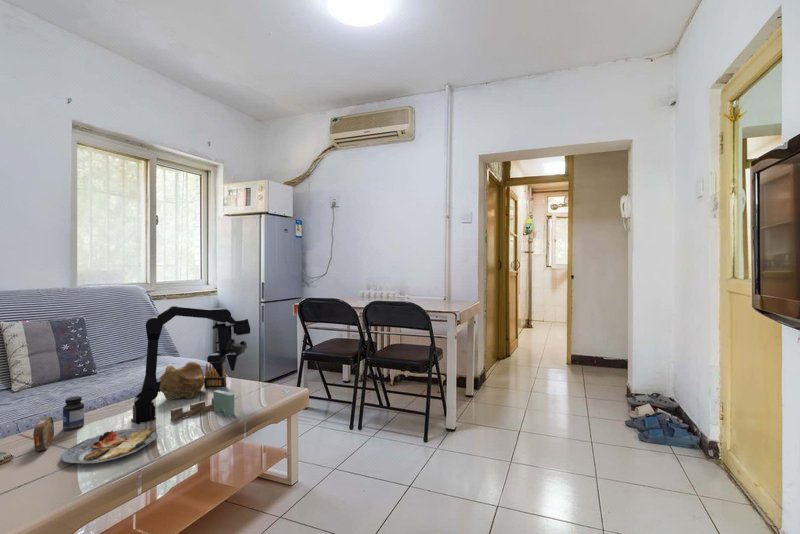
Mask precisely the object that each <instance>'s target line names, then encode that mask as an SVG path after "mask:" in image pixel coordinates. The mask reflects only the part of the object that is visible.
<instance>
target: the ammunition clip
mask: <svg viewBox="0 0 800 534" xmlns="http://www.w3.org/2000/svg"><path fill="white" fill-rule="evenodd" d="M204 370H205V371H204V378H205V383H204V385H203V387H225V388H227V387H226V386H227V374H226V365H225V363H224V364H223V377H220V376H219V374H218V373H217V371H216V370H215V368H214V367H213V366H212V365H211V364H210V363H209V364H208V363H206V364H205V369H204Z"/></svg>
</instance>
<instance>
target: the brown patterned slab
mask: <svg viewBox="0 0 800 534" xmlns="http://www.w3.org/2000/svg"><path fill="white" fill-rule="evenodd" d="M54 434H55V424H54V420H53V417H52V416H47V417H44V418H41V419H40V420H39V421H38V423H37V424H36V425H35V427H34V429H33V433H32V435H33V441H34V444H33V446H34V447H33V448H34V449H35V452H42V451H47V450H48V449H49V447H50V445H51V444H52V442H53V440H54V436H55V435H54Z"/></svg>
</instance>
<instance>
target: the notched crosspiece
mask: <svg viewBox="0 0 800 534" xmlns="http://www.w3.org/2000/svg"><path fill="white" fill-rule="evenodd" d="M212 393H213V398H214V409H213V411H214V412H216V411H217V412H216V413H222V412H223V415H225V414H226V415H225V416H229V417H231V416H235V415H234V414H235V394H234V393H230V392H226V391H223V390H219V389H217V390H213V392H212ZM221 411H222V412H221Z"/></svg>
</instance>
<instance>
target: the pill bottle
mask: <svg viewBox="0 0 800 534" xmlns="http://www.w3.org/2000/svg"><path fill="white" fill-rule="evenodd" d="M64 401H65V405H64V406H63V408H62V430H63V431H74V430H78V429H80V428H83V427H84V425H85V404H84V402H82V396H80V395H78V396H70V397H67V398H65V400H64Z"/></svg>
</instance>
